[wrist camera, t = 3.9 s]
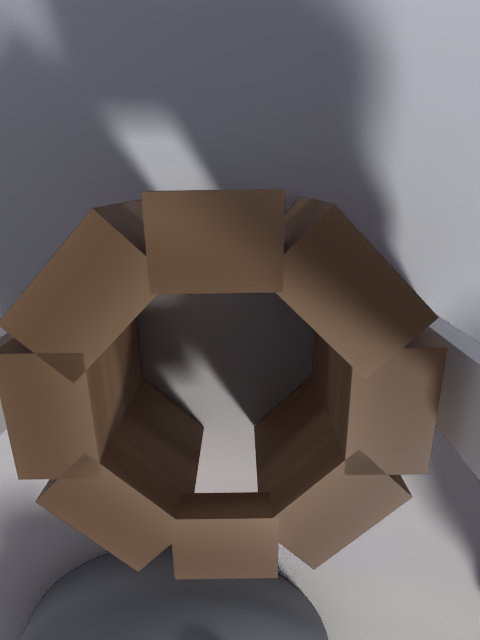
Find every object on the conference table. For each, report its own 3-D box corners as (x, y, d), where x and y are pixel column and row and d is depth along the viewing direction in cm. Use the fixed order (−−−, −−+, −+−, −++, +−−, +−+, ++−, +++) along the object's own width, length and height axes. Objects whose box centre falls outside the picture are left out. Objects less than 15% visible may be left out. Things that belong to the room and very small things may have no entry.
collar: (55, 190, 13) (-47, 194, 9) (389, 184, 13) (472, 186, 8) (97, 468, 17) (41, 580, 12) (362, 464, 17) (411, 576, 12)
